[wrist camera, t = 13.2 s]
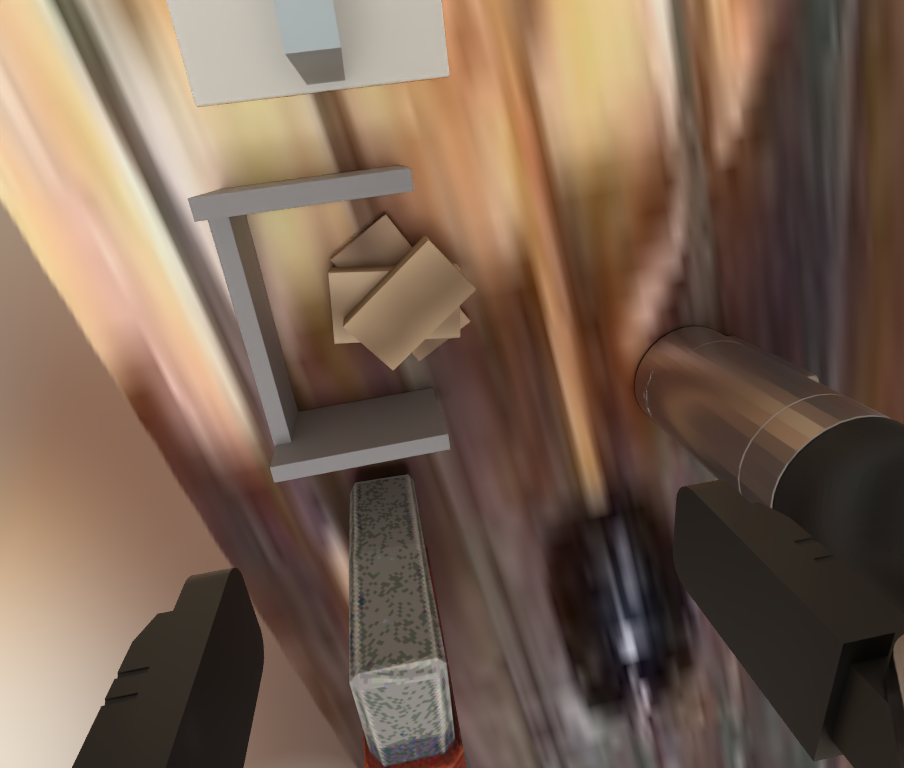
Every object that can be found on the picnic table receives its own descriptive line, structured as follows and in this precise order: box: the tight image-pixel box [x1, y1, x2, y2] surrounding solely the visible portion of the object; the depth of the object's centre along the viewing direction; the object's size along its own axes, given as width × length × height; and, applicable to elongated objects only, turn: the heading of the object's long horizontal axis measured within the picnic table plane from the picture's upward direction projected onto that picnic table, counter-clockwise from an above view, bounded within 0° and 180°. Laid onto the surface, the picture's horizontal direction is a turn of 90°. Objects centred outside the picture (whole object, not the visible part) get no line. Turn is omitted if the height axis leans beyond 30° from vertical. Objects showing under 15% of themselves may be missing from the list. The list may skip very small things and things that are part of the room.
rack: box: [188, 165, 450, 482], centre depth 37 cm, size 12×18×8 cm, turn 7°
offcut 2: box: [343, 235, 476, 370], centre depth 37 cm, size 5×8×2 cm, turn 133°
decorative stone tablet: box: [349, 474, 466, 768], centre depth 44 cm, size 19×6×30 cm
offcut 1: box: [331, 213, 470, 361], centre depth 41 cm, size 5×10×2 cm, turn 37°
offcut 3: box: [328, 263, 460, 344], centre depth 39 cm, size 5×9×2 cm, turn 90°
